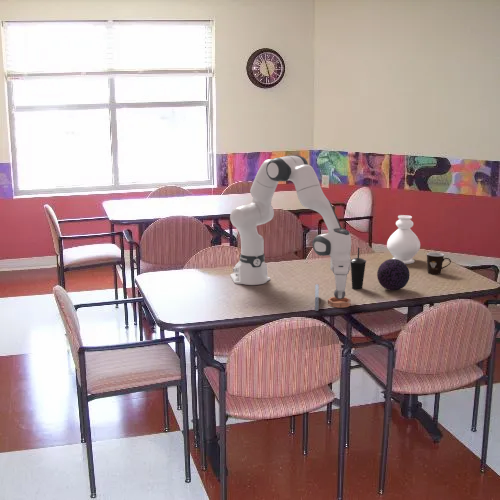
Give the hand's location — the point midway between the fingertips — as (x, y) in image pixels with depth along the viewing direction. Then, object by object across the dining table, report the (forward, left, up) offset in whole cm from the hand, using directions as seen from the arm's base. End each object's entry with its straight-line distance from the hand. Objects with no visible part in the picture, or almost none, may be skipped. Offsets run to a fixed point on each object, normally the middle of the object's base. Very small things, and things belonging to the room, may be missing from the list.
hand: (339, 295), depth 312 cm
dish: (0, 0, -4) cm, 4 cm away
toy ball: (-10, +34, -4) cm, 36 cm away
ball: (0, 0, +1) cm, 1 cm away
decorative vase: (-55, +70, -4) cm, 89 cm away
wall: (-5, -9, -4) cm, 11 cm away
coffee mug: (-26, +71, -4) cm, 76 cm away
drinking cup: (-19, +20, -4) cm, 28 cm away
